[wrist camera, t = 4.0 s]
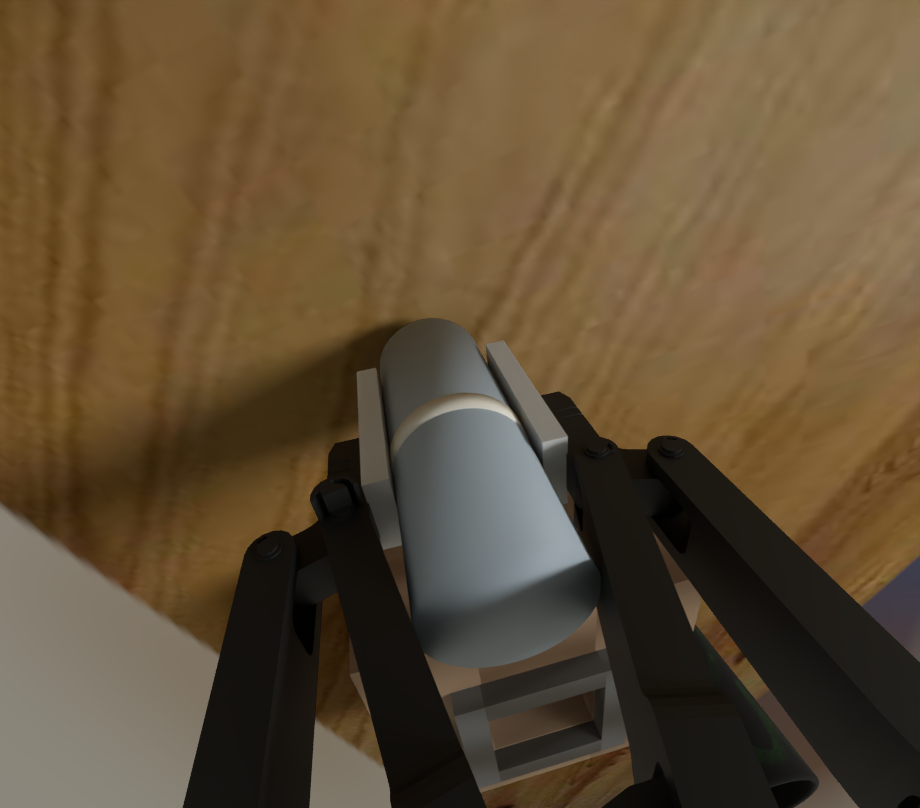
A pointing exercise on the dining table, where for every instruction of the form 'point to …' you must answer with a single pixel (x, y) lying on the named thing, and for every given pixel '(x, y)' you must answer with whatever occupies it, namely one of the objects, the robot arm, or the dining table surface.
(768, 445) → the dining table surface
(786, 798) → the cup
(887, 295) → the dining table surface
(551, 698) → the socket block
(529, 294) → the dining table surface
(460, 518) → the peg
